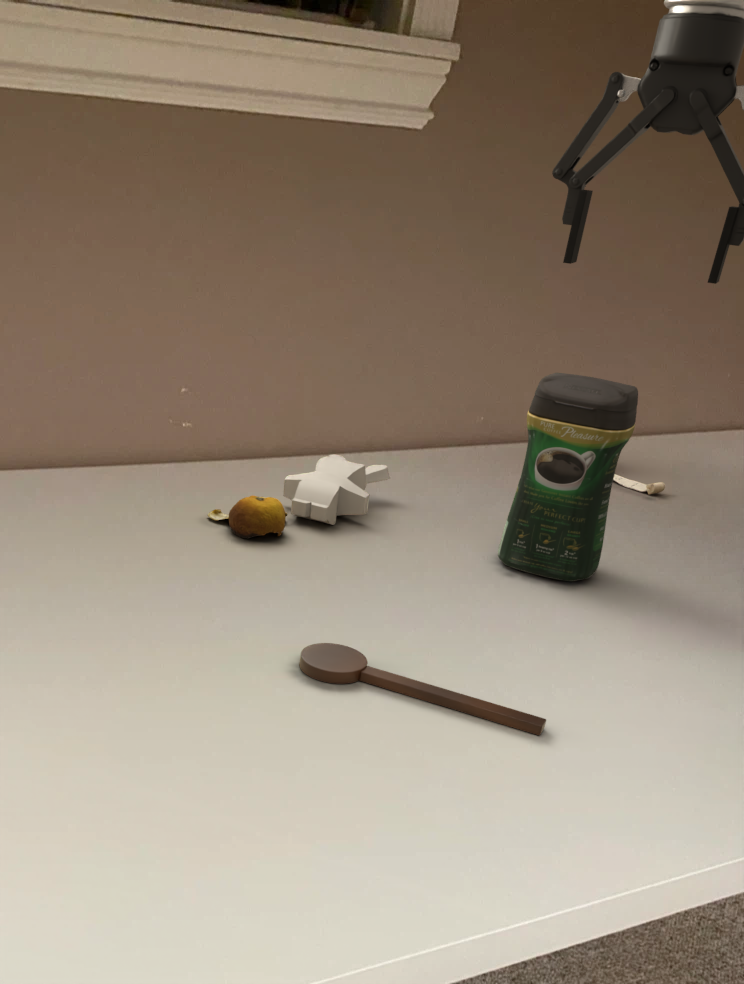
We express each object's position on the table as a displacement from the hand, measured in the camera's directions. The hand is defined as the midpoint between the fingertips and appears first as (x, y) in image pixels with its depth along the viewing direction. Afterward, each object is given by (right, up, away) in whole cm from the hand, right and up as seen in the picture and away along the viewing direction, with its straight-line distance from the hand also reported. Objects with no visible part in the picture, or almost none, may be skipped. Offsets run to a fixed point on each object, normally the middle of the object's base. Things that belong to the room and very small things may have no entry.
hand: (639, 272), depth 107 cm
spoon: (-27, -42, -24) cm, 55 cm away
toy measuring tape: (+8, -12, +36) cm, 38 cm away
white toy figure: (-28, -21, +14) cm, 38 cm away
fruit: (-37, -24, +7) cm, 45 cm away
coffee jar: (-8, -29, +3) cm, 30 cm away
